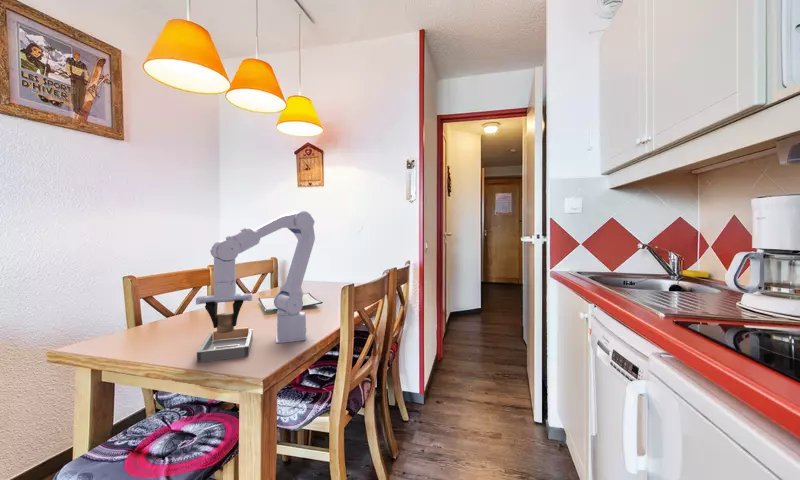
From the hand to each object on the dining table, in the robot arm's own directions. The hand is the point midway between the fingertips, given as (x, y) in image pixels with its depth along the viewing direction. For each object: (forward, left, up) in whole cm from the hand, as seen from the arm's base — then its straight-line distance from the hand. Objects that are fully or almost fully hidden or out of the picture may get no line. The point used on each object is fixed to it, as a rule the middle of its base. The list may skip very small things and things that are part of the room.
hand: (225, 326), depth 93 cm
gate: (0, -12, -8) cm, 15 cm away
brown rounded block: (0, 0, -2) cm, 2 cm away
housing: (0, -4, -8) cm, 9 cm away
